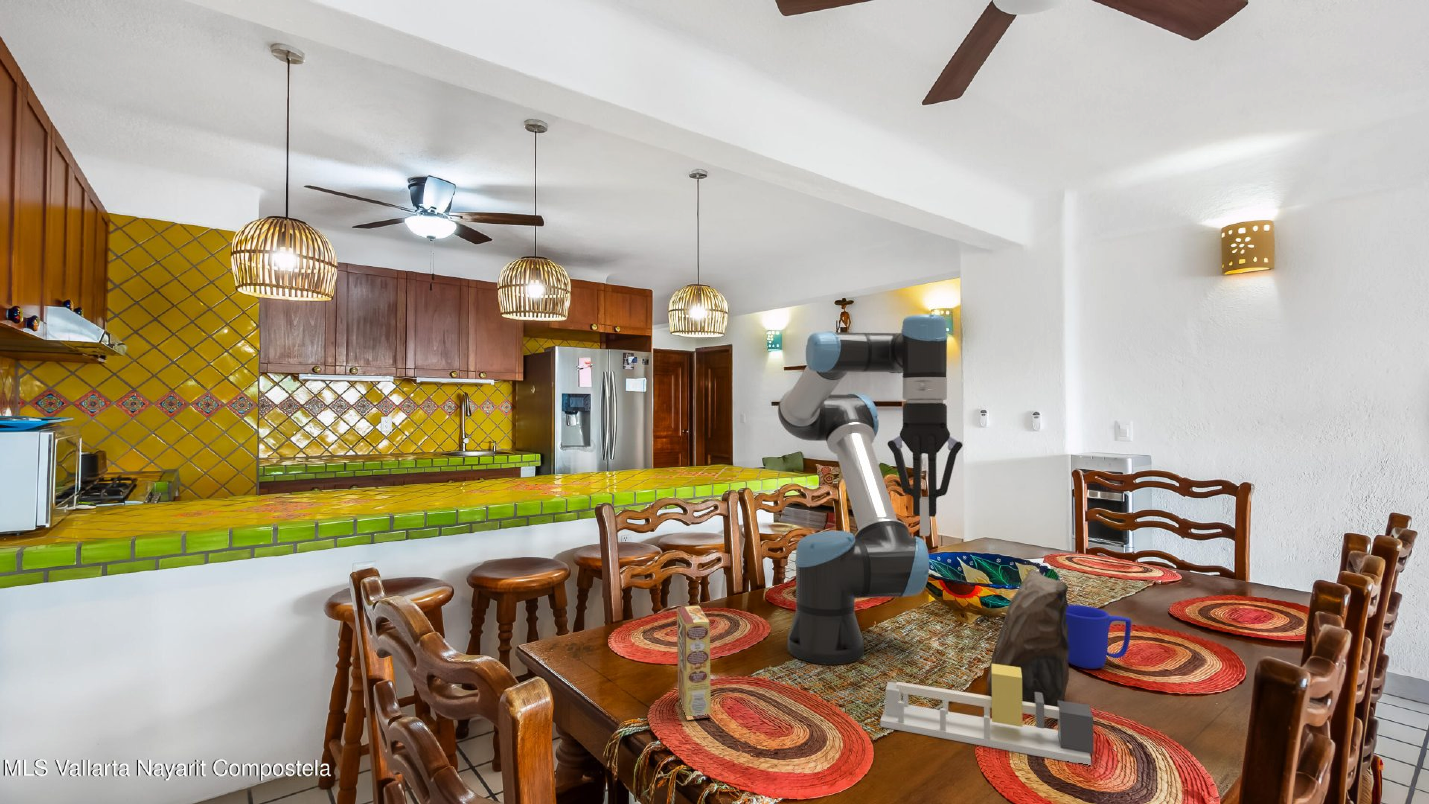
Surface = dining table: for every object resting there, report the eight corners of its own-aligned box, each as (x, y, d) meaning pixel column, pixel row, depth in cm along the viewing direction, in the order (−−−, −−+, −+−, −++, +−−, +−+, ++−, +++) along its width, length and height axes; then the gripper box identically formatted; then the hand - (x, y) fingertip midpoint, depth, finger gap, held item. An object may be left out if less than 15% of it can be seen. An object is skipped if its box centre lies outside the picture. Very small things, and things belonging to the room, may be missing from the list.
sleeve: (992, 721, 93) (991, 673, 93) (991, 710, 97) (991, 663, 97) (1022, 727, 92) (1022, 677, 92) (1021, 714, 95) (1020, 667, 96)
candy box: (712, 719, 101) (711, 621, 101) (685, 722, 100) (685, 623, 100) (700, 695, 109) (700, 604, 109) (675, 697, 108) (675, 606, 108)
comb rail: (880, 726, 98) (880, 681, 98) (887, 707, 105) (886, 665, 105) (1095, 766, 87) (1094, 716, 87) (1087, 742, 93) (1087, 695, 93)
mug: (1140, 675, 117) (1140, 620, 117) (1068, 670, 119) (1067, 616, 119) (1121, 658, 125) (1121, 607, 125) (1054, 654, 127) (1053, 603, 127)
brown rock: (1022, 674, 117) (1021, 565, 118) (1095, 700, 107) (1094, 579, 107) (982, 692, 110) (981, 575, 110) (1056, 721, 100) (1055, 592, 100)
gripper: (883, 402, 114) (884, 535, 113) (962, 401, 108) (963, 541, 108) (890, 402, 121) (890, 528, 120) (964, 402, 115) (965, 533, 115)
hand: (925, 534), depth 114 cm, fingers closed
